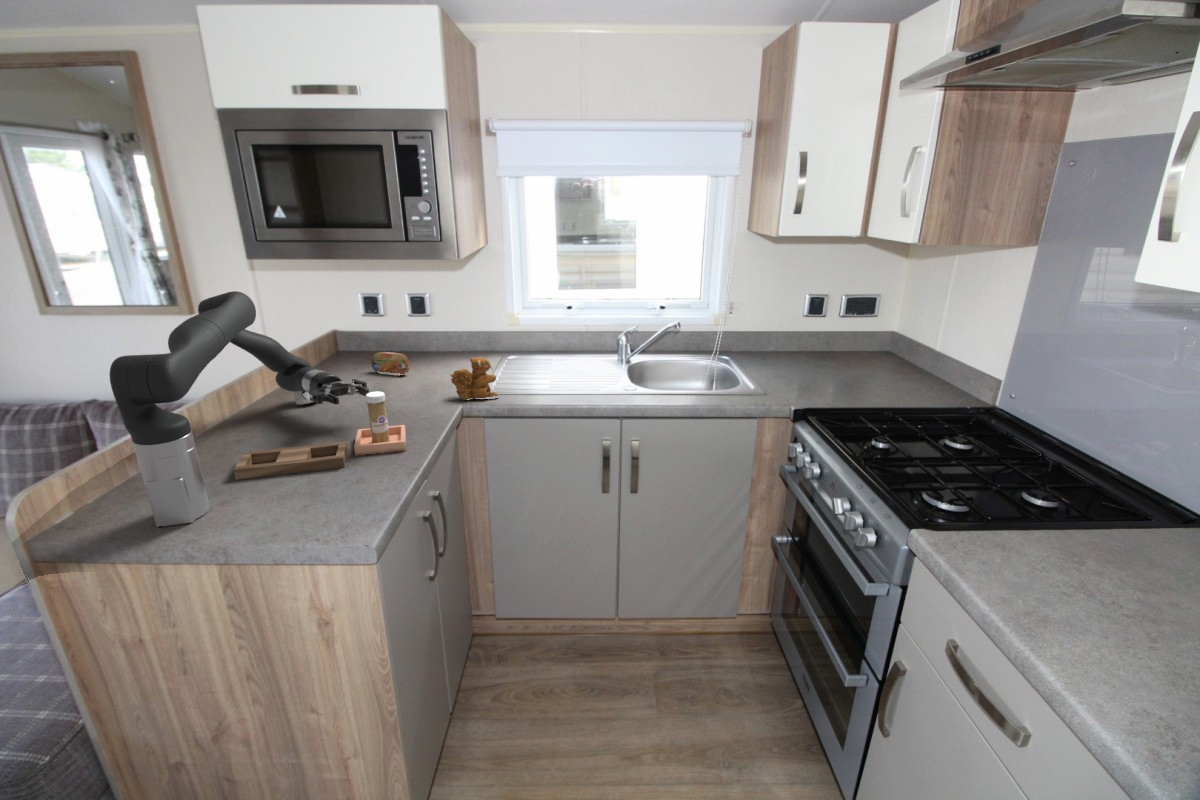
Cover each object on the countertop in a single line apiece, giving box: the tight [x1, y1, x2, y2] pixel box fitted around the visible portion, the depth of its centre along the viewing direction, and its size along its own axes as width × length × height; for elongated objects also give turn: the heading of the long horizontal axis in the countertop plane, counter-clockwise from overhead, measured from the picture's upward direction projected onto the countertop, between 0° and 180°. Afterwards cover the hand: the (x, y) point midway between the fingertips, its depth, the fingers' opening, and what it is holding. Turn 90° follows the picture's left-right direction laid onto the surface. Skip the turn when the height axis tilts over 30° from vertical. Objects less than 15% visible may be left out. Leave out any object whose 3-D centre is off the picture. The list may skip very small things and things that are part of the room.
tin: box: [370, 351, 411, 375], centre depth 208 cm, size 15×3×8 cm, turn 73°
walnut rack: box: [233, 441, 349, 480], centre depth 137 cm, size 10×23×2 cm, turn 108°
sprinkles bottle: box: [365, 391, 390, 443], centre depth 147 cm, size 5×5×14 cm
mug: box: [293, 391, 315, 406], centre depth 179 cm, size 10×7×7 cm, turn 160°
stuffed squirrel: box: [450, 356, 499, 401], centre depth 184 cm, size 10×14×13 cm
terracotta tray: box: [353, 424, 407, 457], centre depth 149 cm, size 12×12×2 cm
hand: (352, 396), depth 152 cm, fingers open, 8 cm apart
